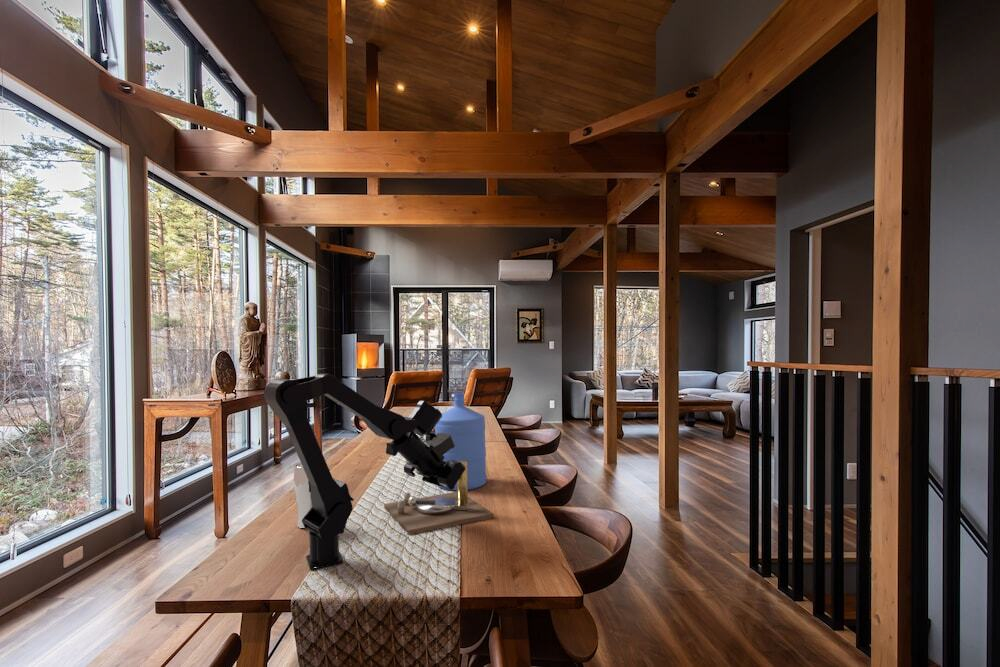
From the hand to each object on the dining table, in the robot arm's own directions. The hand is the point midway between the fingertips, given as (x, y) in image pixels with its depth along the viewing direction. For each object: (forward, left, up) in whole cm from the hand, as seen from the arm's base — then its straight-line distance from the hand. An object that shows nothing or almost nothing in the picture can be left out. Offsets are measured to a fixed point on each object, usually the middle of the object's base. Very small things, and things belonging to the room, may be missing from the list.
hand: (452, 488), depth 130 cm
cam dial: (+7, +2, -6) cm, 9 cm away
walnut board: (+7, +2, -8) cm, 10 cm away
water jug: (+28, -14, -8) cm, 32 cm away
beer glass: (+15, +32, -8) cm, 36 cm away
